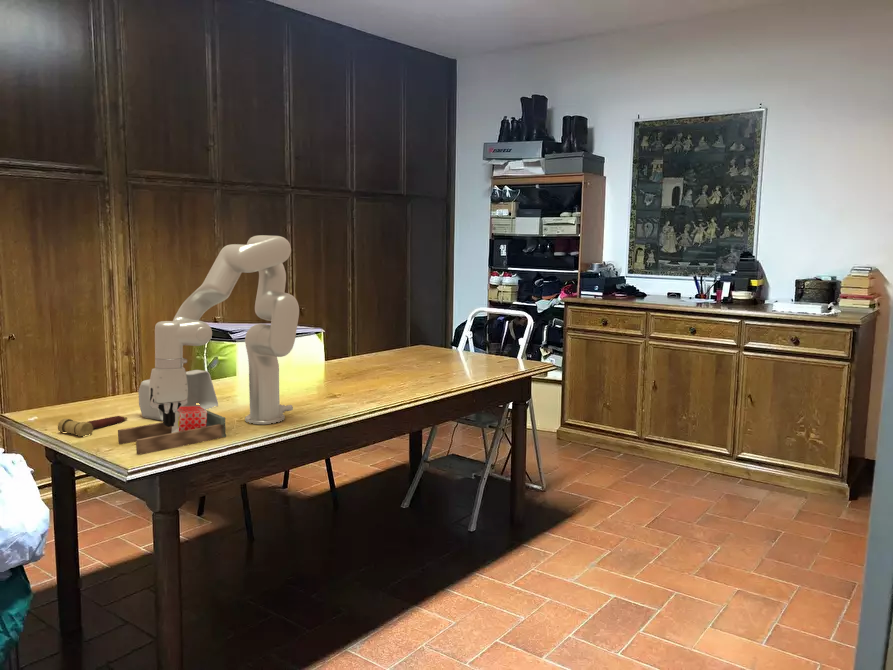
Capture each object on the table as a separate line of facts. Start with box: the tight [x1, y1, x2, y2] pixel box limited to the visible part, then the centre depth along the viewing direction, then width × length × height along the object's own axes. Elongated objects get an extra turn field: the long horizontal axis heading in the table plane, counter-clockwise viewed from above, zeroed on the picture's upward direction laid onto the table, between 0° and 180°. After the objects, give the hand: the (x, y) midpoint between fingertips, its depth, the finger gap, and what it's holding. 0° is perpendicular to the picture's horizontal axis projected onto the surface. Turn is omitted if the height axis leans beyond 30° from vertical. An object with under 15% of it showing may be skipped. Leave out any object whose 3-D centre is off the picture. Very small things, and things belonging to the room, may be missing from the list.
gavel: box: [57, 415, 128, 437], centre depth 224 cm, size 21×5×10 cm
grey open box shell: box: [137, 369, 219, 422], centre depth 246 cm, size 25×16×12 cm, turn 152°
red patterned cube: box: [172, 406, 208, 433], centre depth 216 cm, size 8×8×8 cm
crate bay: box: [117, 409, 227, 455], centre depth 212 cm, size 26×14×6 cm, turn 135°
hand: (169, 425), depth 211 cm, fingers closed
